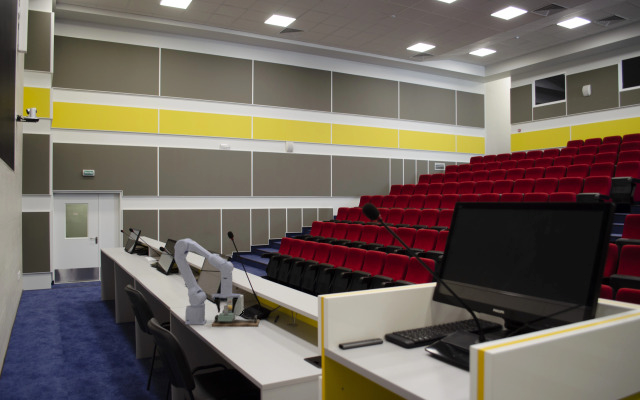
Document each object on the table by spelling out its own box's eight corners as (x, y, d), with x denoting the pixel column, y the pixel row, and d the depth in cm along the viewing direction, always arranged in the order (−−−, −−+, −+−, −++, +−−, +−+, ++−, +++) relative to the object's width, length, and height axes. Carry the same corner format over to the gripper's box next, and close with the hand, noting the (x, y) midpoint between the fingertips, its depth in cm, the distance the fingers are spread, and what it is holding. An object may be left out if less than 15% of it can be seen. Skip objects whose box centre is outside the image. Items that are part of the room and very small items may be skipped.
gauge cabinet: (222, 321, 239) (222, 311, 239) (223, 317, 246) (224, 308, 246) (233, 321, 240) (233, 311, 240) (235, 317, 246) (235, 308, 246)
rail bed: (211, 326, 229) (211, 318, 229) (215, 321, 239) (215, 313, 239) (257, 326, 230) (257, 318, 230) (259, 321, 240) (259, 313, 240)
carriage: (217, 321, 230) (218, 307, 230) (220, 317, 237) (220, 304, 237) (231, 321, 231) (232, 307, 231) (233, 317, 238) (233, 304, 238)
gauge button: (225, 310, 241) (225, 306, 241) (226, 308, 244) (226, 304, 244) (231, 310, 241) (231, 306, 241) (232, 308, 245) (232, 305, 245)
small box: (243, 313, 256) (244, 294, 256) (240, 315, 251) (241, 296, 251) (229, 312, 257) (230, 294, 257) (226, 315, 252) (227, 296, 252)
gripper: (210, 287, 230) (210, 314, 230) (239, 287, 230) (239, 314, 230) (213, 284, 237) (212, 310, 237) (241, 284, 237) (240, 310, 237)
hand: (226, 312), depth 234 cm, fingers open, 6 cm apart
